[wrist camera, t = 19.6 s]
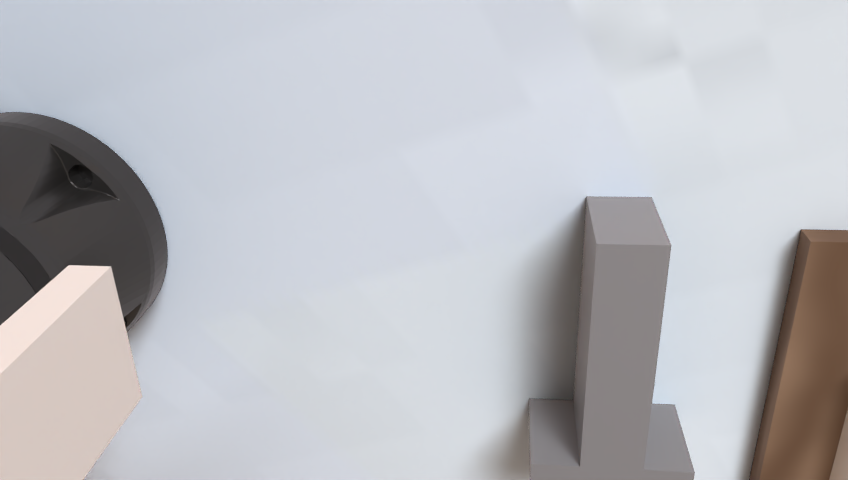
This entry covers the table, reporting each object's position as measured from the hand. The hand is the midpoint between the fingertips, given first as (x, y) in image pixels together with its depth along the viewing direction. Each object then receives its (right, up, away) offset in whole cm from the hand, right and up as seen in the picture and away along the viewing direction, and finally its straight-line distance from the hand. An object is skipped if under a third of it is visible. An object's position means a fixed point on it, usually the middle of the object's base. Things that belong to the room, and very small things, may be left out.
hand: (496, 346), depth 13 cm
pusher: (+10, -2, +32) cm, 34 cm away
